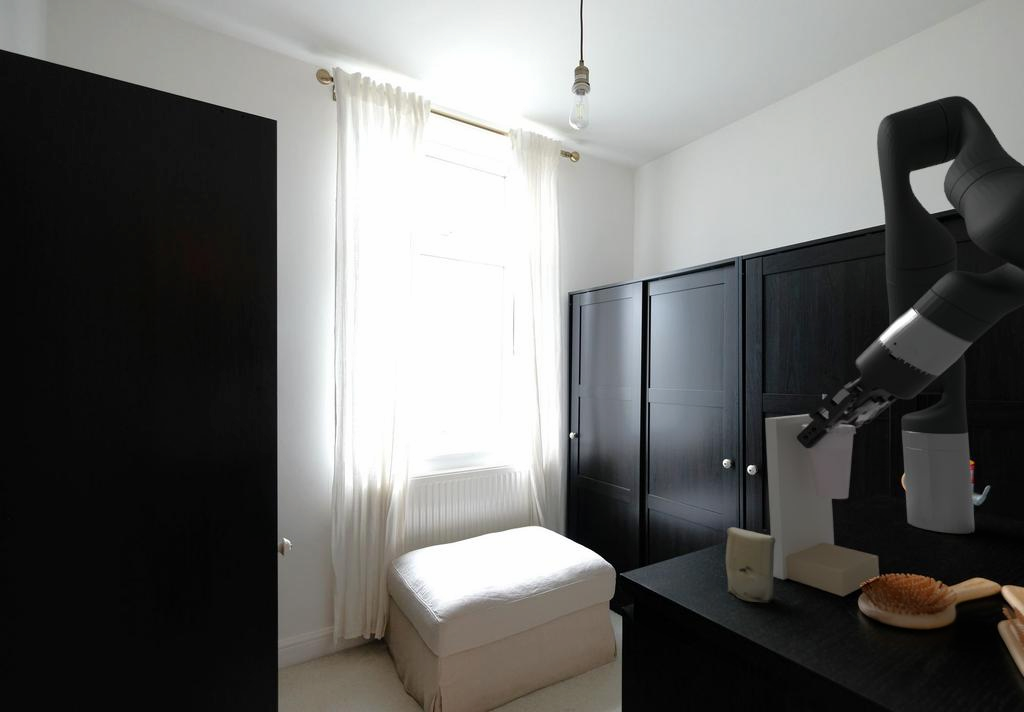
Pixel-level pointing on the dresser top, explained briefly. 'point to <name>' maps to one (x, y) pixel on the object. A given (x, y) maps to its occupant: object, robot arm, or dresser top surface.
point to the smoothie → (832, 461)
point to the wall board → (806, 518)
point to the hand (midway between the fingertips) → (816, 441)
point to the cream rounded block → (750, 565)
